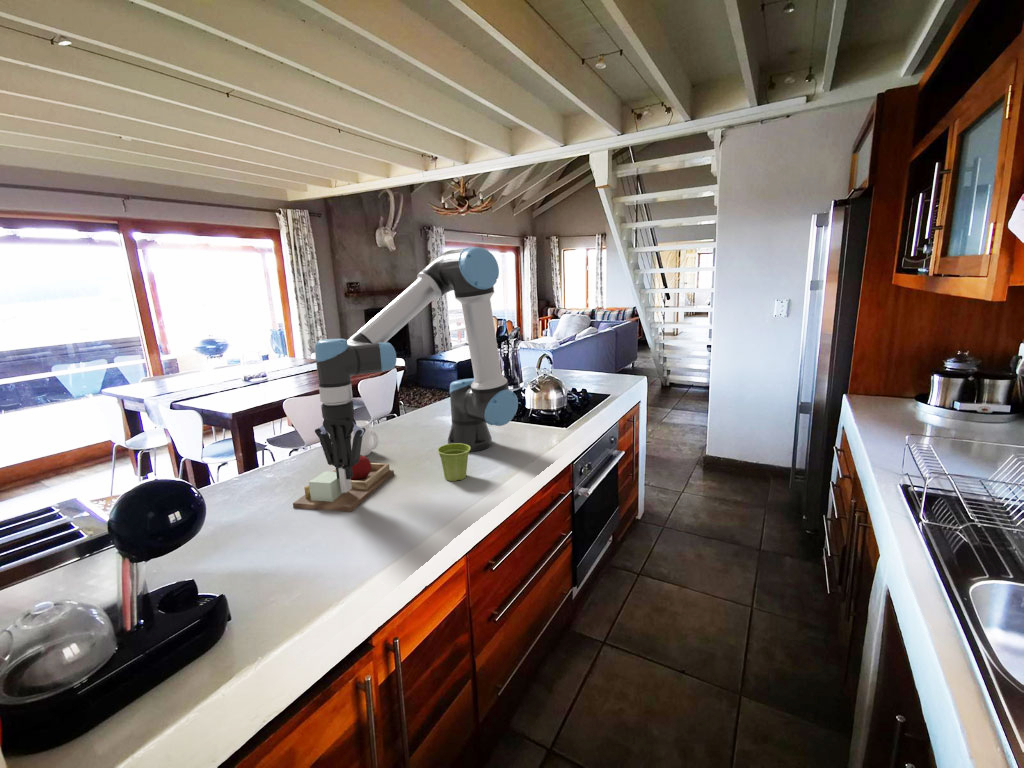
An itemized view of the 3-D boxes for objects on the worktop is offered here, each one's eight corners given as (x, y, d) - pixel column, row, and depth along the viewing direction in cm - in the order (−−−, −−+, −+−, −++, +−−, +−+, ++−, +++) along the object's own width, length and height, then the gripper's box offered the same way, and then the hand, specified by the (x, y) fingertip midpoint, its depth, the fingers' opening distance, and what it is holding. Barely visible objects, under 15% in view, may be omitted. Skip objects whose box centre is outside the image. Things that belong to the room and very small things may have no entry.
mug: (386, 451, 158) (383, 422, 156) (371, 460, 150) (368, 429, 148) (356, 448, 162) (353, 419, 160) (340, 456, 154) (337, 426, 152)
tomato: (376, 477, 133) (374, 453, 131) (350, 486, 127) (347, 461, 126) (362, 470, 138) (359, 447, 137) (336, 478, 133) (333, 454, 131)
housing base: (394, 474, 138) (392, 460, 137) (351, 511, 115) (349, 495, 114) (344, 471, 141) (343, 458, 140) (293, 507, 118) (291, 492, 117)
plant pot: (477, 472, 137) (475, 444, 135) (463, 485, 128) (462, 455, 127) (448, 469, 140) (446, 442, 138) (433, 482, 131) (431, 452, 130)
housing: (347, 490, 125) (345, 472, 124) (332, 501, 118) (330, 483, 117) (326, 488, 126) (324, 471, 125) (311, 500, 119) (308, 481, 118)
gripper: (368, 398, 119) (376, 485, 123) (322, 397, 121) (331, 483, 126) (353, 405, 111) (362, 498, 116) (304, 404, 114) (315, 495, 119)
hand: (346, 490), depth 121 cm, fingers closed
